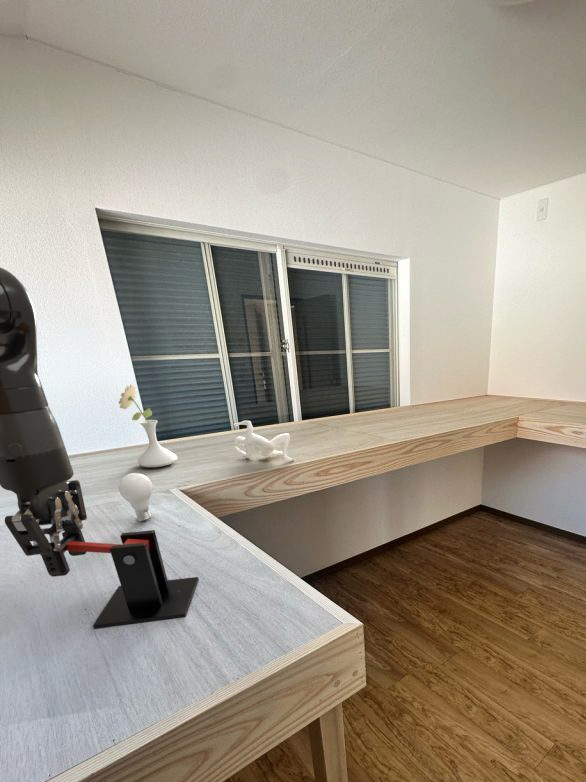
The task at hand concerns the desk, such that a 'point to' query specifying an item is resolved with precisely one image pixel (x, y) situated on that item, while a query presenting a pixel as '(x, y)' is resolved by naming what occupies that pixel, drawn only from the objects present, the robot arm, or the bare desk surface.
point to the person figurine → (261, 443)
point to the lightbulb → (137, 493)
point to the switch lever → (91, 544)
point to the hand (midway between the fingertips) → (70, 563)
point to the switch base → (144, 585)
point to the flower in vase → (154, 452)
